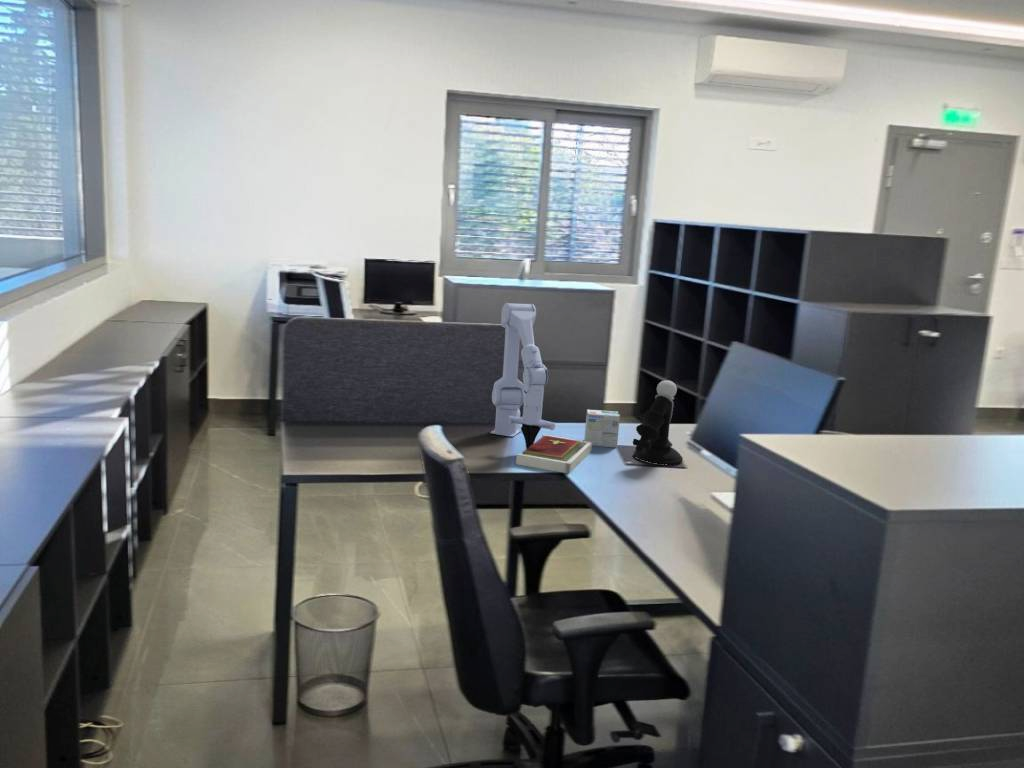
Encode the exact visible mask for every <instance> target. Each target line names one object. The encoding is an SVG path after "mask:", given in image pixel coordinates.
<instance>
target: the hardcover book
mask: <svg viewBox="0 0 1024 768" xmlns="http://www.w3.org/2000/svg"><path fill="white" fill-rule="evenodd" d="M544 435H545V436H543V437H541V438H539V439H538V440H536V441H534V444H533V445H531V446H530V447H529V448H527V449H526V448H525V450H523V451H522V454H524V455H530V456H536V457H542V458H547V459H553V460H559V461H565V462H568V461H569V460H570V459H571V458H572V457H573V456H574V455H575V454H576V453H577V452H578V444H579V443H580V441H581V440H580V441H576V440H577V439H574V440H570V439H571V438H568V439H564V438H565V437H562V438H558V437H559V436H556V437H552V436H553V435H550V436H546V435H547V434H544Z"/></svg>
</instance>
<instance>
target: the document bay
mask: <svg viewBox="0 0 1024 768" xmlns="http://www.w3.org/2000/svg"><path fill="white" fill-rule="evenodd" d="M545 435H546V436H552V437H558V438H564V439H570V440H576V441H580V443H579V444H578V451H577V453H576V454H575V455H573V456H572V457H571V458H570V459H569V460H568V461H567V462H565V461H559V460H553V459H547V458H542V457H536V456H530V455H524V454H523V453H517V454H516V461H515V462H516V463H515V464H516V465H518V466H524V467H530V468H536V469H541V470H547V471H552V472H559V473H564V474H571V472H572V471H574V469H576V467H578V466H579V464H581V463H582V461H584V459H585V458H587V457H588V456H589V455H590V454H591V453H592V450H593V449H592V448H593V446H592V442H586V441H584V440H579V439H575V438H574V439H573V438H568V437H561V436H555V435H549V434H542V435H541V436H542V437H543V436H545ZM542 437H541V438H542Z"/></svg>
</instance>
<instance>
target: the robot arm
mask: <svg viewBox="0 0 1024 768" xmlns="http://www.w3.org/2000/svg"><path fill="white" fill-rule="evenodd" d="M500 316H501V317H500V320H501V321H500V324H501V325H500V326H501V327H503V328H504V329H505V330H504V333H505V335H504V349H503V351H504V352H503V365H502V366H503V367H502V376H501V378H499V379H498V380H496V381H495V382H494V384H493V389H492V392H491V401H492V404H493V405H494V406H495V407H496V409H495V421H494V422H495V424H494V429H493V430H491V431H490V434H493V435H499V436H503V437H504V436H505V437H510V438H514V437H515V436H516V435H518V434H519V433H522V435H523V438H524V442H525V450H526V449H527V448H529V447H530V446H531V445H533V444H534V443H535V442H536V439H537V436H538V434H539V433H540V431H541V429H547V430H550V431H553V430H555V429H556V422H552V421H550V420H549V421H548V420H544V419H542V414H543V402H544V392H545V386H547V384H548V381H549V371H548V367H546V366H545V364H544V363H543V360H542V357H541V352H540V348H539V347H538V346H536V345H535V337H534V327H533V326H534V324H535V320H536V317H537V308H536V306H535V304H533V303H511V302H510V303H509V302H505V303H504V305H503V306H502V309H501V315H500ZM520 343H521V344H522V349H521V351H520ZM520 355H521V359H522V366H523V374H522V381H521V380H519V378H518V375H519V358H520ZM521 406H523V407H522V408H523V409H522V416H521V410H520V409H521ZM520 425H521V427H520Z"/></svg>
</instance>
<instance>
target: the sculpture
mask: <svg viewBox="0 0 1024 768" xmlns="http://www.w3.org/2000/svg"><path fill="white" fill-rule="evenodd" d="M677 391H678V387H677V385H676V383H674V382H673V381H672V380H667V379H666V380H661V381H660V382H658V384H657V386H656V393H657V394H655V396H654V401H653V403H652V405H651V406H650V409H649V410H646V411H645V412H644V414H643V420H642V422H641V423H640V424H639V425H637V426H636V428H635V429H636V433H637V434H638V435H639V436H640V438H639V439H637V438H633V440H632V445H633V446H635V450H634V451H633V457H634V456H635V457H637V458H639V459H641V460H644V461H648V462H651V463H657V464H664V465H665V464H667V465H673V466H675V465H674V464H679V465H681V464H682V463H683V460H684V459H683V458H684V457H683V456H682V455H681V453H680V452H679V451H677V450H676V449H675V448H673V443H672V442H671V441H670V439H669V437H670V435H669V434H670V424H671V421H672V420H671V419H672V416H673V413H674V412H673V411H674V409H673V408H674V405H675V404H674V401H673V400H674V399H675V395H677ZM635 457H634V458H635ZM681 462H682V463H681ZM680 463H681V464H680Z"/></svg>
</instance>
